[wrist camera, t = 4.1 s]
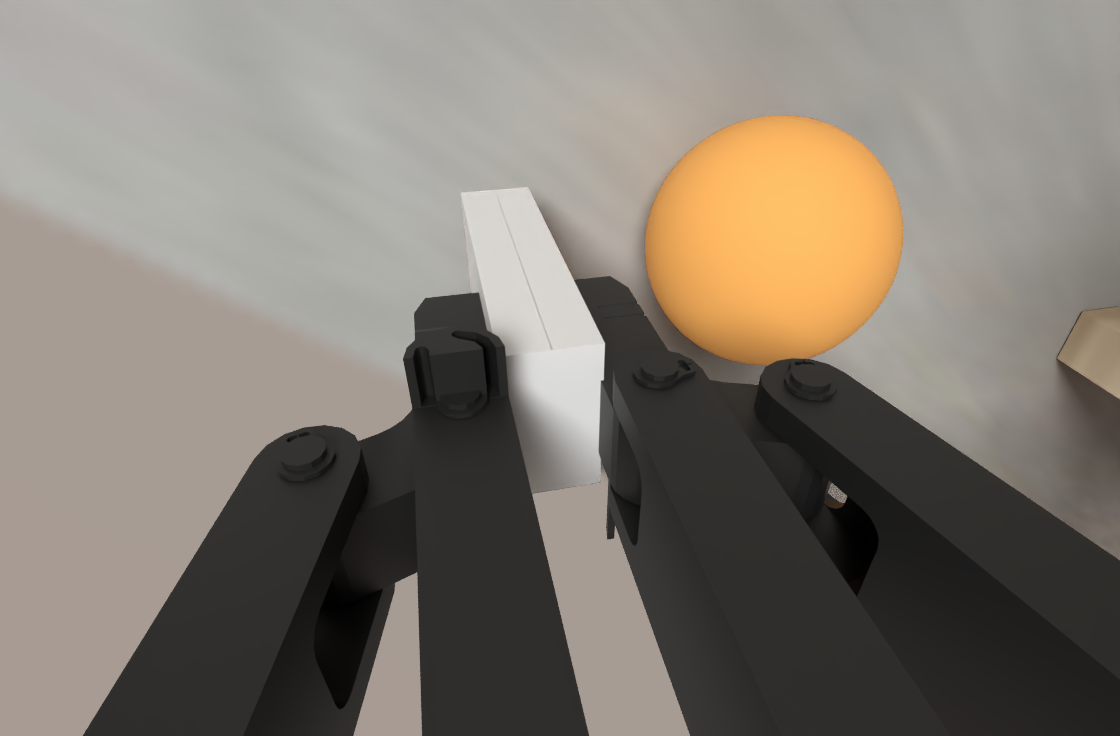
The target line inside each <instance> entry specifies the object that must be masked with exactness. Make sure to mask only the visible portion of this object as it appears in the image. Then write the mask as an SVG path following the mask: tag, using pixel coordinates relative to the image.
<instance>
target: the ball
mask: <svg viewBox="0 0 1120 736" xmlns="http://www.w3.org/2000/svg"><path fill="white" fill-rule="evenodd" d="M902 246H903V219H902V212H901V207H900V203H899V200H898V197H897V194H896V191H895V188H894V185H893V183H892V181H891V179H890V178H889V176H888V174H887V172H886V171H885V169H884V167H883V166H882V164H881V163H880V162H879V161H878V159H877V158H876V157H875V156H874V155H873V154H872V153H871V152H870V151H869V150H868V149H867V148H866V147H865V146H864V145H863V144H862V143H861V142H859V141H858V140H857V139H856V138H854V137H852V136H851V135H849V134H847V133H846V132H844V131H842V130H840V129H839V128H837V127H835V126H832V125H830V124H827V123H824V122H821V121H818V120H815V119H811V118H805V117H799V116H774V115H773V116H766V117H759V118H754V119H749V120H746V121H742V122H739V123H735V124H733V125H731V126H728V127H726V128H724V129H721V130H720V131H718V132H716V133H714V134H713V135H711V136H709V137H708V138H706V139H705V140H703V141H702V142H701V143H699V144H698V145H697V146H695V147H694V148H693V149H691V150H690V151H689V152H688V153H687V154H686V155H685V156H684V157H683V158H682V159H681V160H680V161H679V162H678V163H677V165H676V166H675V167H674V168H673V169H672V171H671V172H670V174H669V175H668V176H667V178H666V179H665V181H664V183H663V184H662V186H661V188H660V190H659V192H658V194H657V196H656V199H655V201H654V204H653V206H652V209H651V211H650V215H649V219H648V223H647V229H646V236H645V260H646V267H647V273H648V276H649V280H650V283H651V287H652V290H653V292H654V294H655V297H656V299H657V301H658V303H659V305H660V306H661V308H662V310H663V311H664V313H665V314H666V316H667V317H668V318H669V320H670V321H671V322H672V323H673V324H674V325H675V327H676V328H677V329H678V330H679V331H680V332H681V333H682V334H683V335H684V336H686V337H687V338H688V339H690V340H691V341H693V342H694V343H695V344H697V345H698V346H699V347H701V348H703V349H705V350H707V351H709V352H711V353H713V354H715V355H717V356H719V357H722V358H725V359H728V360H731V361H736V362H740V363H746V364H752V365H770V364H772V363H774V362H776V361H779V360H785V359H791V358H797V359H808V358H811V357H814V356H816V355H819V354H821V353H824V352H826V351H828V350H829V349H831V348H833V347H835V346H837V345H838V344H840V343H841V342H843V341H844V340H846V339H847V338H848V337H850V336H851V335H852V334H854V333H855V332H856V331H857V330H858V329H859V328H860V327H861V326H863V325H864V324H865V323H866V321H867V320H868V319H869V318H870V317H871V316H872V315H873V314H874V312H875V311H876V310H877V308H878V307H879V306H880V304H881V303H882V301H883V300H884V298H885V297H886V295H887V293H888V291H889V289H890V287H891V285H892V283H893V281H894V278H895V276H896V273H897V269H898V265H899V262H900V258H901V253H902Z"/></svg>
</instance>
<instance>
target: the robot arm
mask: <svg viewBox="0 0 1120 736" xmlns="http://www.w3.org/2000/svg"><path fill="white" fill-rule="evenodd" d="M461 200H462V210H463V219H464V228H465V238H466V247H467V256H468V266H469V275H470V284H471V293H469V294H460V295H450V296H441V297H432V298H425V299H424V301H423V302H422V303H421V305H420V306H419V307H418V309H417V310H416V312H415V313H414V322H415V341H414V342H413V343H412V344H410V345H409V346H408V347H407V349H406V352H405V355H404V358H403V361H404V366H405V371H406V377H407V382H408V387H409V392H410V398H411V403H412V410H411V412H410V413H409V414H408V415H407V416H406V417H405V418H404V419H403V420H402V421H401V422H399V423H398V424H397V425H395V426H393V427H392V428H390V429H388V430H386V431H384V432H381V433H379V434H377V435H374V436H371V437H369V438H366V439H363V440H361V441H358V440H357V439H356V437H355V435H353V434H351V433H350V432H348V431H346V430H345V429H343V428H339V427H332V426H326V425H323V426H314V427H305V428H301V429H299V430H296V431H293V432H290V433H287V434H284V435H283V436H281V437H279V438H278V439H276V440H274V441H273V442H271V443H270V444H268V445H267V446H266V447H265V448H264V449H263V450H262V451H261V452H260V454H258V455H257V456H256V458H255V459H254V460H253V462H252V463H251V465H250V466H249V468H248V470H247V471H246V473H245V475H244V476H243V478H242V479H241V481H240V483H239V484H238V486H237V488H236V489H235V491H234V492H233V494H232V496H231V497H230V499H229V500H228V502H227V504H226V505H225V507H224V508H223V510H222V512H221V513H220V515H219V517H218V518H217V520H216V521H215V523H214V525H213V527H212V528H211V529H210V531H209V533H208V534H207V536H206V538H205V539H204V541H203V542H202V544H201V546H200V547H199V549H198V551H197V552H196V554H195V555H194V557H193V559H192V560H191V562H190V563H189V565H188V567H187V568H186V570H185V572H184V573H183V575H182V576H181V578H180V580H179V581H178V583H177V584H176V586H175V588H174V589H173V591H172V592H171V594H170V596H169V597H168V599H167V601H166V602H165V604H164V606H163V607H162V609H161V610H160V612H159V613H158V615H157V617H156V618H155V620H154V622H153V623H152V625H151V626H150V628H149V630H148V631H147V633H146V635H145V636H144V638H143V639H142V641H141V643H140V644H139V646H138V648H137V649H136V651H135V652H134V654H133V656H132V657H131V659H130V661H129V662H128V664H127V665H126V667H125V669H124V670H123V672H122V673H121V675H120V677H119V678H118V680H117V681H116V683H115V685H114V686H113V688H112V689H111V691H110V693H109V694H108V696H107V698H106V699H105V701H104V702H103V704H102V706H101V707H100V709H99V711H98V712H97V714H96V715H95V717H94V718H93V720H92V722H91V723H90V725H89V727H88V728H87V730H86V731H85V733H84V735H83V736H353V735H354V731H355V727H356V724H357V721H358V717H359V713H360V710H361V707H362V703H363V700H364V696H365V693H366V689H367V685H368V682H369V679H370V675H371V672H372V668H373V665H374V661H375V658H376V654H377V650H378V647H379V644H380V640H381V636H382V633H383V629H384V626H385V622H386V619H387V615H388V612H389V608H390V605H391V601H392V598H393V594H394V588H395V582H397V581H400V580H401V579H404V578H406V577H408V576H410V575H412V574H414V573H416V572H417V574H418V606H419V607H418V608H419V641H420V672H421V673H420V674H421V675H420V676H421V708H422V709H421V710H422V736H589V734H588V729H587V726H586V721H585V717H584V713H583V708H582V704H581V700H580V695H579V691H578V687H577V683H576V679H575V674H574V670H573V666H572V662H571V657H570V653H569V649H568V645H567V641H566V636H565V632H564V628H563V624H562V619H561V615H560V611H559V607H558V602H557V598H556V594H555V589H554V585H553V581H552V577H551V572H550V568H549V564H548V560H547V556H546V551H545V547H544V543H543V539H542V534H541V530H540V526H539V522H538V518H537V514H536V509H535V505H534V501H533V497H532V494H533V493H539V492H545V491H550V490H558V489H563V488H570V487H576V486H582V485H588V484H594V483H600V473H601V460H602V463H603V466H604V468H605V471H606V474H607V476H608V479H609V482H608V505H607V526H606V528H607V539H612V538H614V530H615V526H616V528H617V531H618V534H619V537H620V540H621V542H622V545H623V548H624V551H625V554H626V556H627V559H628V562H629V565H630V568H631V570H632V573H633V576H634V579H635V582H636V584H637V587H638V590H639V593H640V596H641V598H642V601H643V604H644V607H645V610H646V613H647V615H648V618H649V621H650V624H651V627H652V629H653V632H654V635H655V638H656V641H657V643H658V646H659V649H660V652H661V654H662V657H663V660H664V663H665V666H666V669H667V671H668V674H669V677H670V680H671V682H672V686H673V688H674V691H675V694H676V697H677V700H678V702H679V705H680V708H681V711H682V714H683V716H684V719H685V722H686V725H687V727H688V730H689V733H690V736H1120V560H1118V559H1117V558H1115V557H1114V556H1112V555H1111V554H1109V553H1108V552H1106V551H1105V550H1104V549H1102V548H1101V547H1099V546H1098V545H1096V544H1095V543H1093V542H1092V541H1090V540H1089V539H1087V538H1086V537H1084V536H1083V535H1082V534H1080V533H1079V532H1077V531H1076V530H1074V529H1073V528H1071V527H1070V526H1068V525H1067V524H1065V523H1064V522H1063V521H1061V520H1060V519H1058V518H1057V517H1055V516H1054V515H1052V514H1051V513H1049V512H1048V511H1046V510H1045V509H1043V508H1042V507H1041V506H1039V505H1038V504H1036V503H1035V502H1033V501H1032V500H1030V499H1029V498H1027V497H1026V496H1024V495H1023V494H1021V493H1020V492H1019V491H1017V490H1016V489H1014V488H1013V487H1011V486H1010V485H1008V484H1007V483H1005V482H1004V481H1002V480H1001V479H1000V478H998V477H997V476H995V475H994V474H992V473H991V472H989V471H988V470H986V469H985V468H983V467H982V466H980V465H979V464H978V463H976V462H975V461H973V460H972V459H970V458H969V457H967V456H966V455H964V454H963V453H961V452H960V451H959V450H957V449H956V448H954V447H953V446H951V445H950V444H948V443H947V442H945V441H944V440H942V439H941V438H939V437H938V436H937V435H935V434H934V433H932V432H931V431H929V430H928V429H926V428H925V427H923V426H922V425H920V424H919V423H918V422H916V421H915V420H913V419H912V418H910V417H909V416H907V415H906V414H904V413H903V412H901V411H900V410H898V409H897V408H896V407H894V406H893V405H891V404H890V403H888V402H887V401H885V400H884V399H882V398H881V397H879V396H878V395H876V394H875V393H874V392H872V391H871V390H869V389H868V388H866V387H865V386H863V385H862V384H860V383H859V382H857V381H856V380H855V379H853V378H852V377H850V376H849V375H847V374H846V373H844V372H842V371H840V370H838V369H837V368H835V367H833V366H831V365H829V364H825V363H822V362H818V361H815V360H811V359H797V358H791V359H785V360H779V361H776V362H774V363H772V364H770V365H768V366H766V367H765V369H764V371H763V373H762V374H761V377H760V382H759V385H750V384H736V383H724V382H718V381H711V380H709V379H708V377H707V376H706V374H705V373H704V371H703V370H702V369H701V368H700V367H699V366H698V365H697V364H696V363H695V362H694V361H693V360H692V359H689V358H687V357H685V356H683V355H681V354H679V353H675V352H670V351H668V350H667V348H666V347H665V345H664V344H663V342H662V341H661V339H660V337H659V336H658V334H657V333H656V331H655V329H654V328H653V326H652V325H651V323H650V322H649V320H648V318H647V317H646V316H644V312H643V310H642V309H641V307H640V306H639V304H637V301H636V299H635V298H634V296H633V295H632V293H631V292H630V290H629V288H628V287H626V286H625V285H623V284H622V283H620V282H618V281H617V280H615V279H613V278H612V277H610V276H607V277H598V278H589V279H580V280H573V277H572V275H571V273H570V271H569V269H568V267H567V265H566V263H565V261H564V259H563V257H562V255H561V253H560V251H559V249H558V247H557V245H556V243H555V241H554V239H553V237H552V235H551V233H550V231H549V229H548V227H547V225H546V223H545V221H544V219H543V217H542V215H541V212H540V210H539V208H538V206H537V204H536V202H535V200H534V198H533V196H532V194H531V192H530V190H529V188H528V187H523V188H511V189H499V190H487V191H475V192H463V193H461ZM831 482H832V483H833V484H834V485H835V486H837V487H838V488H839V489H840V490H841V491H842V492H844V493H845V494H846V495H847V499H846V502H845V503H840V502H839V501H837V500H836V499H834V498H833V497H832V496H831V495H829V494H828V490H829V487H830V484H831Z"/></svg>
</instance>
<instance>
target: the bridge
mask: <svg viewBox="0 0 1120 736" xmlns="http://www.w3.org/2000/svg"><path fill="white" fill-rule="evenodd" d="M1057 359H1058V360H1060V361H1061V362H1063V363H1065V364H1066V365H1068V366H1069V367H1071V368H1072V369H1074V370H1075V371H1077V372H1078V373H1080V374H1082V375H1083V376H1085V377H1086V378H1088V379H1089V380H1091V381H1092V382H1094V383H1095V384H1097V385H1098V386H1100V387H1102V388H1103V389H1105V390H1106V391H1108V392H1109V393H1111V394H1112V395H1114V396H1115V397H1117V398H1118V399H1120V306H1119V307H1112V308H1104V309H1097V310H1090V311H1083V312H1082V313H1081V315H1080V317H1079V319H1078V321H1077V323H1076V324H1075V326H1074V328H1073V330H1072V332H1071V334H1070V335H1069V337H1068V339H1067V341H1066V343H1065V345H1064V346H1063V348H1062V350H1061V352H1060V354H1059V356H1058V357H1057Z"/></svg>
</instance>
